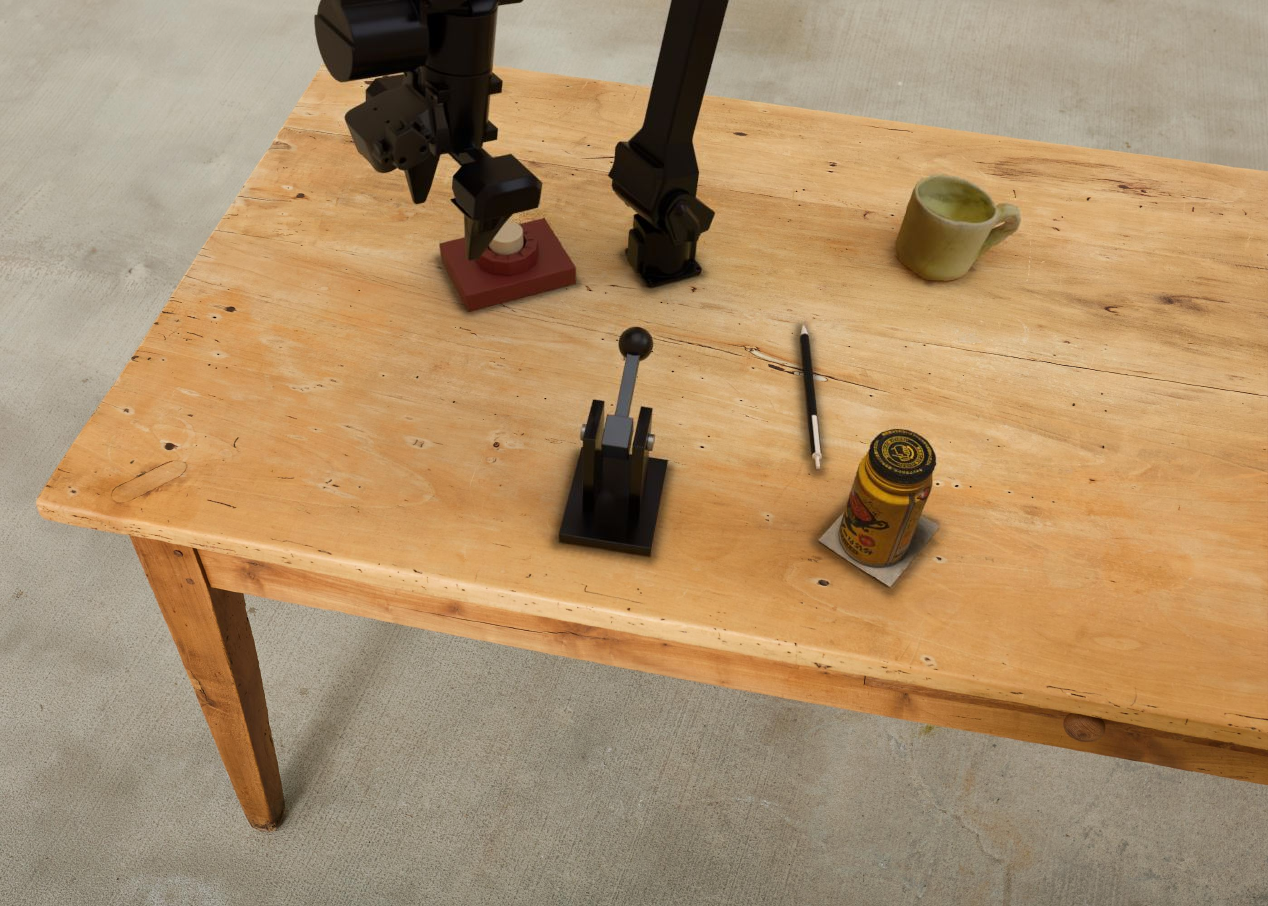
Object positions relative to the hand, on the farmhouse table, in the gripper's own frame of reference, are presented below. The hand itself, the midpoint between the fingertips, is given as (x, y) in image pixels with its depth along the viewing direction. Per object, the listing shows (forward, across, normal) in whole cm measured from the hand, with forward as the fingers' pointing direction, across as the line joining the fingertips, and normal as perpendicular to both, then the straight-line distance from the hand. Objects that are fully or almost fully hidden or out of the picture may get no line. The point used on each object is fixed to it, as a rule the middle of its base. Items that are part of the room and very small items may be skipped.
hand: (445, 230), depth 92 cm
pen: (+12, +24, +28) cm, 38 cm away
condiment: (+12, +40, +21) cm, 46 cm away
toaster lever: (+6, +20, +6) cm, 22 cm away
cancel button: (+10, -8, +13) cm, 18 cm away
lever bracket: (+15, +24, +4) cm, 28 cm away
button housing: (+14, -8, +13) cm, 21 cm away
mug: (+7, +17, +54) cm, 57 cm away
